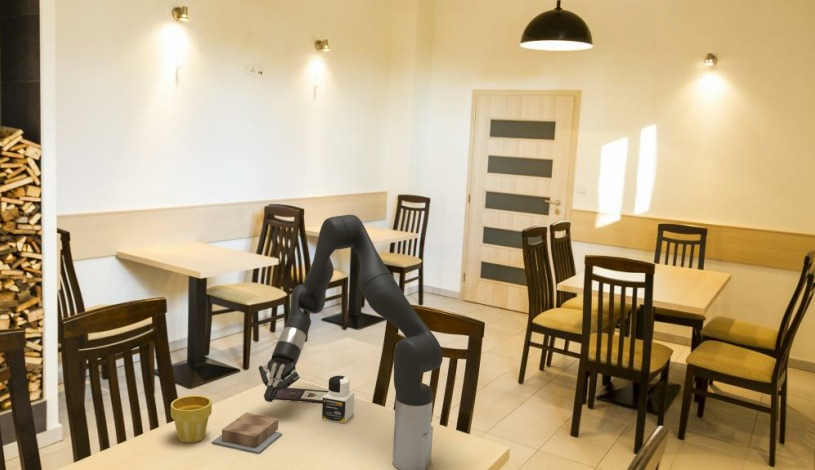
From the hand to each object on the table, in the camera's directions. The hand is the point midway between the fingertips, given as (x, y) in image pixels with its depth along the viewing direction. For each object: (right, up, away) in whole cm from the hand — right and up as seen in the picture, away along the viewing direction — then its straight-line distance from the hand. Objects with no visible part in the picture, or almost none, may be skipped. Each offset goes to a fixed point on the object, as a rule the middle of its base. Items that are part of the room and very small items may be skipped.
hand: (267, 400), depth 189 cm
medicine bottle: (+19, -7, +8) cm, 21 cm away
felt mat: (-3, -8, -9) cm, 13 cm away
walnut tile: (-1, -5, -3) cm, 6 cm away
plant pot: (-18, -7, -10) cm, 22 cm away
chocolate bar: (+7, -4, +22) cm, 23 cm away
